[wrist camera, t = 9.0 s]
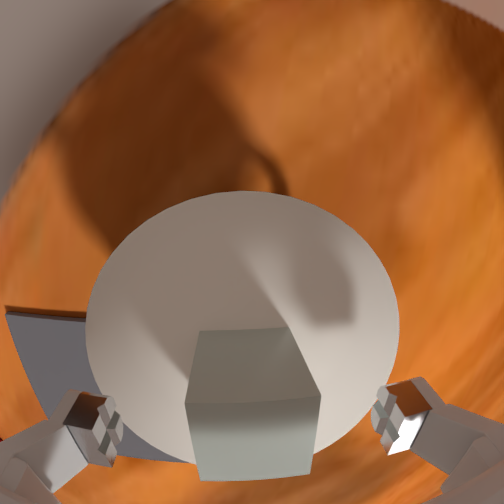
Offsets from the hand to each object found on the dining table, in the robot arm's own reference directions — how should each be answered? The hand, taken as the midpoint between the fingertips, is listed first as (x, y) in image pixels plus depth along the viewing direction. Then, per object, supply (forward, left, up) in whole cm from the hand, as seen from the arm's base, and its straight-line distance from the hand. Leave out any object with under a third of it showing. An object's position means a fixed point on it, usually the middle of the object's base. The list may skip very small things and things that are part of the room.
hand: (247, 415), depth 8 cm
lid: (0, 0, -3) cm, 3 cm away
